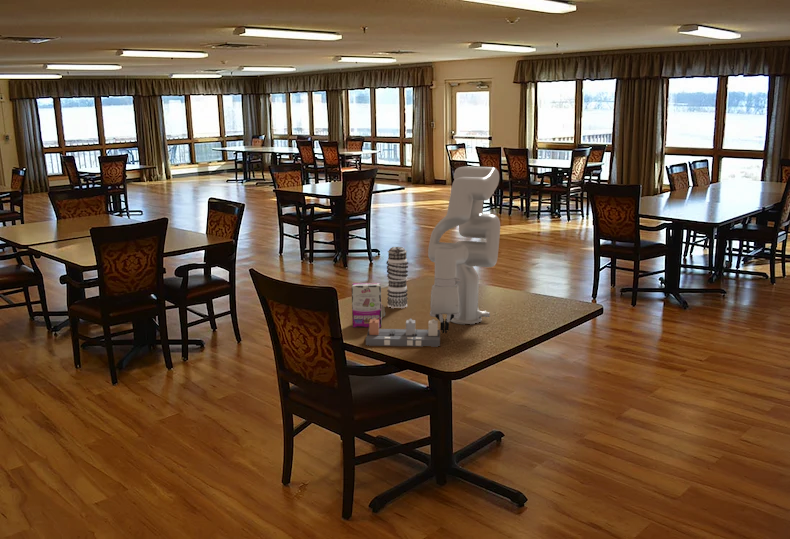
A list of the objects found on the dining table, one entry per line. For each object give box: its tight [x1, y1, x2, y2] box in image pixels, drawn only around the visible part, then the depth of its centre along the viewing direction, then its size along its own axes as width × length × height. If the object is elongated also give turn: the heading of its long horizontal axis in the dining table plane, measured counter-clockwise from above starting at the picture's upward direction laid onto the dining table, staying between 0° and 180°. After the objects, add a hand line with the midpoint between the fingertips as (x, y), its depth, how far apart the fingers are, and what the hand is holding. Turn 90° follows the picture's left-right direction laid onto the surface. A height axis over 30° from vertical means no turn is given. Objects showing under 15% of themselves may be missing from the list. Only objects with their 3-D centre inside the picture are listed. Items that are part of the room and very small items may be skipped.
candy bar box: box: [351, 282, 383, 328], centre depth 277 cm, size 11×5×16 cm, turn 90°
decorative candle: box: [386, 246, 409, 309], centre depth 304 cm, size 9×9×25 cm
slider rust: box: [368, 318, 380, 335], centre depth 260 cm, size 3×4×5 cm
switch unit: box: [365, 328, 441, 348], centre depth 260 cm, size 26×12×3 cm, turn 86°
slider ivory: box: [427, 318, 439, 336], centre depth 259 cm, size 3×4×5 cm
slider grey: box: [405, 318, 416, 336], centre depth 259 cm, size 3×4×5 cm
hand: (444, 332), depth 259 cm, fingers closed
